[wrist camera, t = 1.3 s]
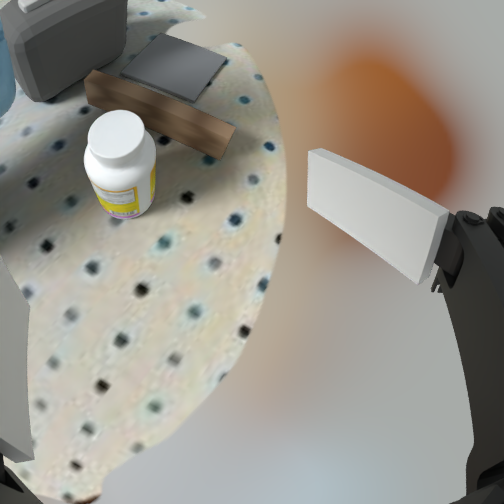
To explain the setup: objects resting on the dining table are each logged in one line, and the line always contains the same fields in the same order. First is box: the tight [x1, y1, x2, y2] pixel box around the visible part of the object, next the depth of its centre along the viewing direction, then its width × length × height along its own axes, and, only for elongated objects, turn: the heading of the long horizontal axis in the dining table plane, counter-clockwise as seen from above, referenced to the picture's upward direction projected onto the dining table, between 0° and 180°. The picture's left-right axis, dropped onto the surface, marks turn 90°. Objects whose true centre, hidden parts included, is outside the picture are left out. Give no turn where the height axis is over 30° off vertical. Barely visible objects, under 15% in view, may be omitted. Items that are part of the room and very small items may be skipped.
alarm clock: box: [0, 0, 128, 102], centre depth 26 cm, size 16×11×16 cm
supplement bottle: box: [84, 110, 156, 219], centre depth 27 cm, size 7×7×13 cm
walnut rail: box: [84, 70, 236, 160], centre depth 33 cm, size 20×2×5 cm, turn 68°
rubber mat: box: [121, 33, 227, 103], centre depth 38 cm, size 12×11×1 cm
